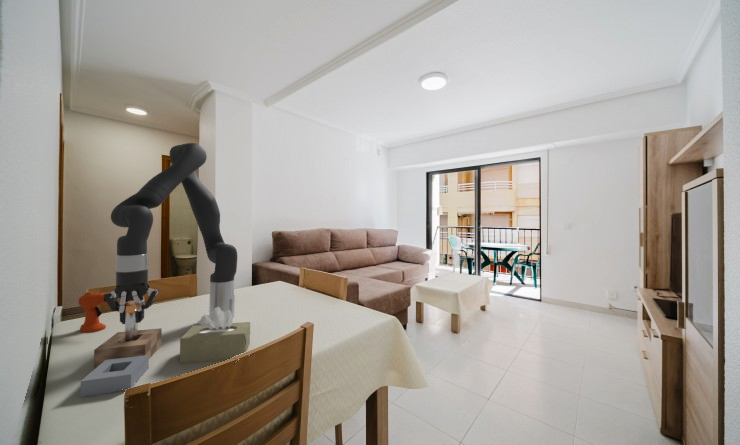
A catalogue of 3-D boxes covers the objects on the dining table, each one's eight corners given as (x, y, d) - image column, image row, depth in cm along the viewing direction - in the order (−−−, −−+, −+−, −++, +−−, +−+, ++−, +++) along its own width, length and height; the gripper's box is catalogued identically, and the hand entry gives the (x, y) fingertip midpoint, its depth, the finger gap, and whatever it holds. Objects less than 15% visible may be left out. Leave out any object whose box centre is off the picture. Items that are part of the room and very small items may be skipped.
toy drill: (126, 329, 99) (122, 290, 99) (76, 334, 99) (71, 295, 98) (137, 324, 104) (133, 286, 104) (89, 328, 104) (85, 291, 103)
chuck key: (135, 344, 81) (136, 305, 81) (122, 346, 79) (123, 306, 79) (138, 336, 86) (139, 300, 87) (126, 338, 85) (127, 301, 85)
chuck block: (161, 345, 91) (161, 328, 91) (145, 363, 80) (145, 344, 80) (117, 350, 87) (117, 332, 87) (93, 370, 76) (94, 349, 76)
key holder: (148, 368, 78) (148, 354, 78) (130, 389, 68) (131, 374, 68) (105, 374, 74) (105, 360, 74) (80, 397, 65) (80, 381, 65)
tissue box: (178, 364, 80) (179, 313, 80) (191, 348, 90) (191, 303, 89) (245, 358, 85) (246, 309, 85) (250, 343, 95) (251, 300, 94)
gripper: (95, 272, 77) (96, 330, 77) (154, 269, 82) (154, 324, 82) (110, 267, 84) (111, 320, 84) (163, 265, 89) (163, 315, 89)
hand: (132, 322), depth 83 cm, fingers closed on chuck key, 3 cm apart
